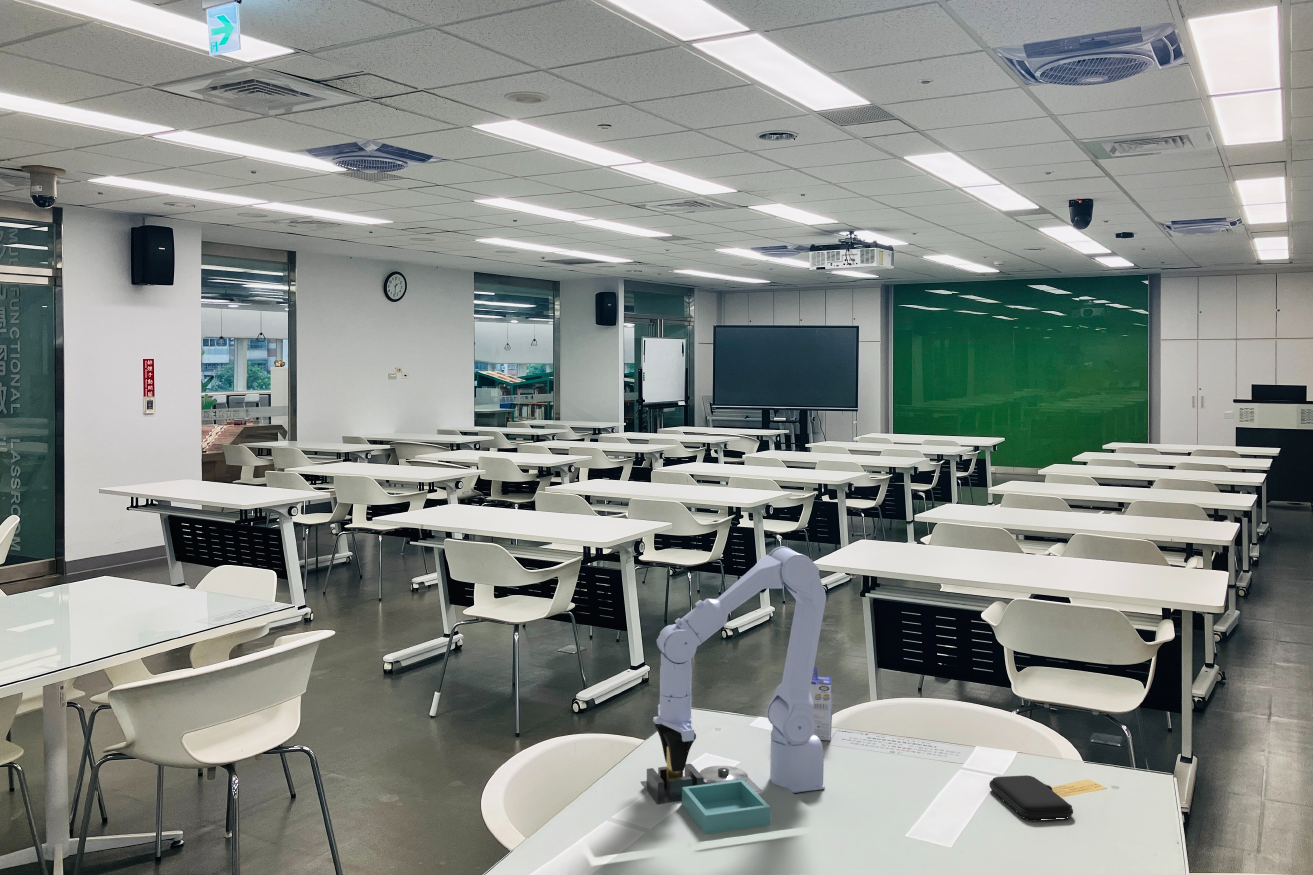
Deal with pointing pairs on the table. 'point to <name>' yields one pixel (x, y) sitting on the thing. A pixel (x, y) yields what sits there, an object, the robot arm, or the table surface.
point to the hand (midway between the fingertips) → (674, 766)
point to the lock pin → (669, 770)
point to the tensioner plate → (690, 781)
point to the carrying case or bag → (1030, 797)
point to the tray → (725, 806)
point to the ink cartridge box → (822, 705)
